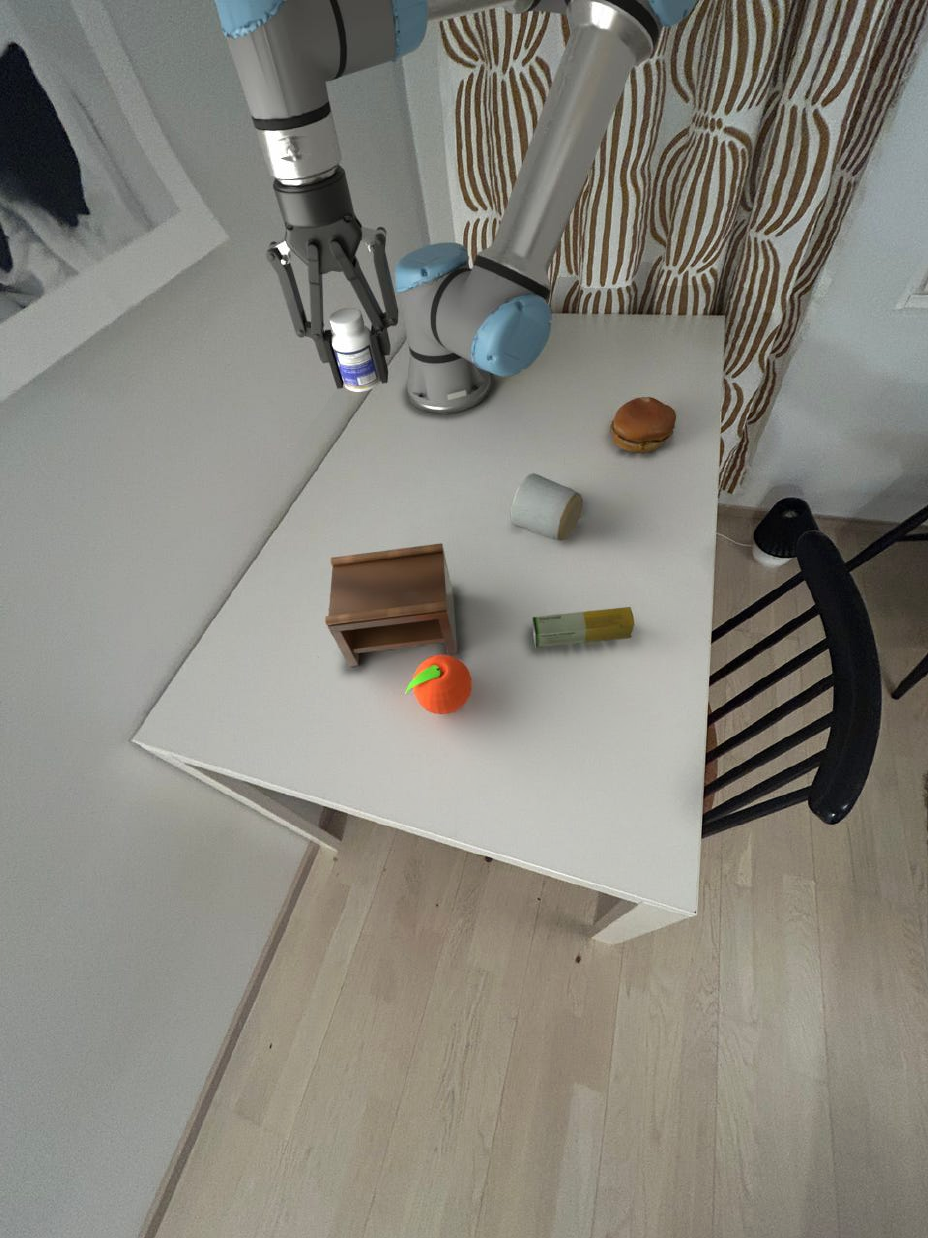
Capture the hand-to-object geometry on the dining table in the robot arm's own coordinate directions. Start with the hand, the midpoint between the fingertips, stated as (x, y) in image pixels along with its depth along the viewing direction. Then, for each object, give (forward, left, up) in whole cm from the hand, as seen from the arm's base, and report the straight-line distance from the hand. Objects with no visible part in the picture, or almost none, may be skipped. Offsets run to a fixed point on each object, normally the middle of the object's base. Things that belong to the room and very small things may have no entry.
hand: (362, 379), depth 78 cm
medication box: (+32, +24, -19) cm, 45 cm away
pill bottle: (0, 0, 0) cm, 0 cm away
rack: (+28, +1, -19) cm, 34 cm away
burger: (-4, +40, -19) cm, 45 cm away
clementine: (+39, +6, -19) cm, 44 cm away
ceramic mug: (+12, +23, -19) cm, 32 cm away
